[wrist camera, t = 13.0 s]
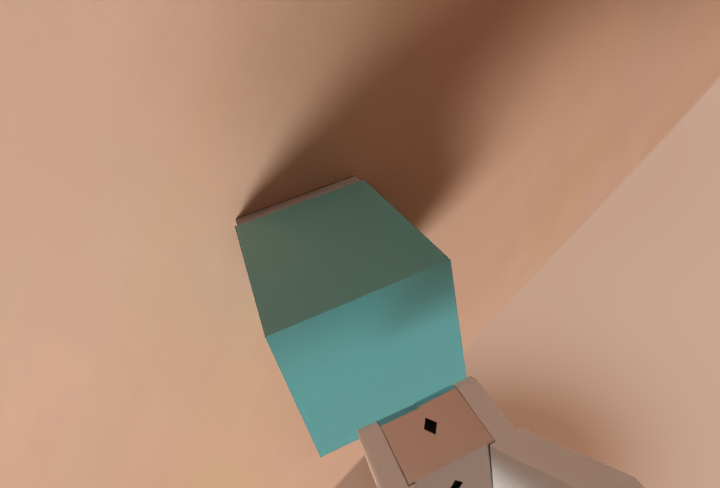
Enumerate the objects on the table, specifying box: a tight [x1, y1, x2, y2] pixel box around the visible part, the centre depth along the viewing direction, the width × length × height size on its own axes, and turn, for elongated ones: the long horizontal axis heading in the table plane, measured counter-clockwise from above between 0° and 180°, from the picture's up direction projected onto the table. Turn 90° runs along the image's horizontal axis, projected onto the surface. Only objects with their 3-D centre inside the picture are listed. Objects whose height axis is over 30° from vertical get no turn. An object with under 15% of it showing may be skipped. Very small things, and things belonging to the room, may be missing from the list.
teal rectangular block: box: [235, 180, 466, 457], centre depth 16 cm, size 5×5×7 cm
